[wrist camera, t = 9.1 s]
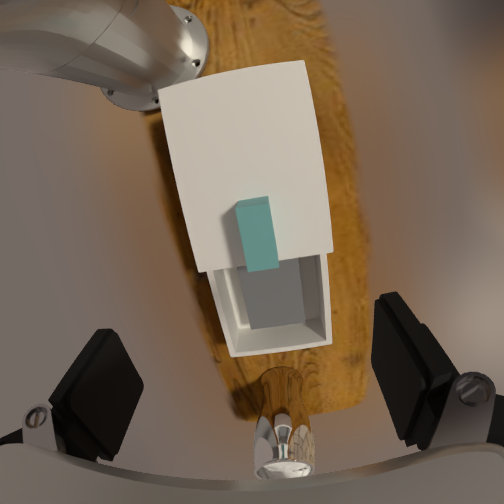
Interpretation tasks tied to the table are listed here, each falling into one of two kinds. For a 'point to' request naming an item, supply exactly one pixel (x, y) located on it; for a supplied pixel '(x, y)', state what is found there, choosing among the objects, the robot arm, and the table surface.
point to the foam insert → (273, 295)
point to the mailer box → (279, 337)
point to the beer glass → (283, 428)
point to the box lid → (248, 166)
